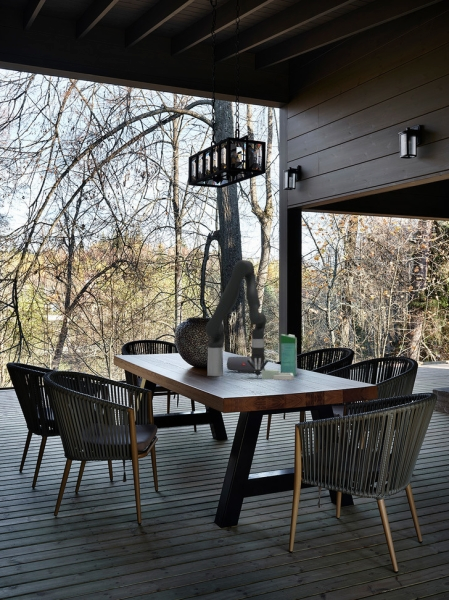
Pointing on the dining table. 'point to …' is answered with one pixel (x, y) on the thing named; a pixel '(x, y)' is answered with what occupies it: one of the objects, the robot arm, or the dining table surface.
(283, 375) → the bay
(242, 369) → the bluetooth speaker
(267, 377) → the pale green block
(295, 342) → the milk carton
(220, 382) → the dining table surface
